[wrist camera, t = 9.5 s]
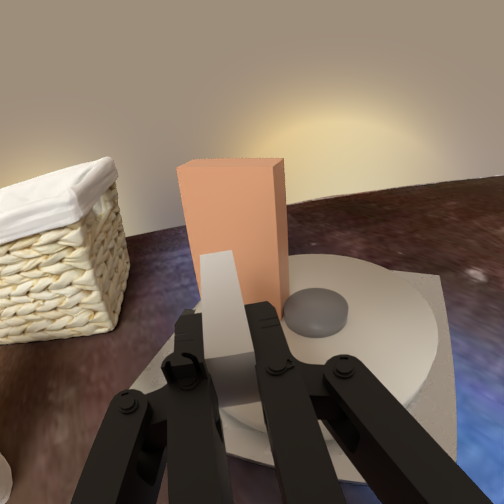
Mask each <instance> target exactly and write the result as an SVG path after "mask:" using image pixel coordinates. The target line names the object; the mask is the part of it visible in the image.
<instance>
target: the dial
mask: <svg viewBox="0 0 504 504" xmlns="http://www.w3.org/2000/svg"><path fill="white" fill-rule="evenodd" d="M176 169H177V175H178V181H179V187H180V193H181V199H182V204H183V210H184V216H185V221H186V227H187V232H188V237H189V243H190V248H191V253H192V258H193V263H194V268H195V273H196V278H197V283H198V287H199V292H200V297H201V276H200V255H203V254H209V253H216V252H222V251H228V250H232V253H233V257H234V262H235V267H236V271H237V276H238V281H239V285H240V290H241V294H242V299H243V303H244V305H246V304H252V303H258V302H263V301H268V302H269V303H270V304H272V305H273V306H274V307H275V309H276V311H277V314H278V318H279V320H280V323H281V326H282V329H283V332H284V335H285V337H286V340H287V343H288V346H289V349H290V352H291V353H292V355H293V356H294V357H295V358H296V359H297V360H299V361H301V362H304V363H307V364H321V365H325V363H326V361H327V360H328V359H330V358H331V357H333V356H336V355H340V354H348V355H351V356H355V357H356V358H358V359H359V360H360V361H361V362H362V363H363V364H364V365H365V366H366V367H367V368H368V369H369V370H370V371H371V372H372V373H373V374H374V375H375V376H376V378H377V379H378V380H379V381H380V382H381V383H382V384H383V385H384V386H385V387H386V388H387V389H388V390H389V391H390V393H391V394H392V395H393V396H394V397H395V398H396V399H397V400H398V401H399V402H400V403H401V404H402V405H403V406H404V408H406V407H407V405H408V404H409V403H410V402H411V401H412V400H413V399H414V398H415V397H416V395H417V394H418V392H419V391H420V389H421V388H422V386H423V384H424V382H425V380H426V378H427V375H428V373H429V371H430V368H431V366H432V363H433V361H434V358H435V356H436V352H437V346H438V328H437V323H436V319H435V317H434V314H433V311H432V309H431V308H430V306H429V304H428V302H427V301H426V300H425V298H424V297H423V296H422V295H421V293H420V292H419V291H418V290H417V289H416V288H415V287H414V286H413V285H411V284H410V283H409V282H407V281H406V280H405V279H404V278H402V277H400V276H399V275H397V274H395V273H394V272H392V271H390V270H388V269H386V268H384V267H381V266H379V265H376V264H373V263H371V262H367V261H364V260H360V259H356V258H351V257H346V256H339V255H328V254H302V255H292V256H288V233H287V211H286V191H285V174H284V158H220V159H219V158H217V159H193V160H191V161H189V162H187V163H185V164H183V165H181V166H179V167H177V168H176ZM195 313H202V302H200V304H199V305H198V307H197V309H196V311H195ZM195 313H194V314H195ZM222 409H223V410H224V411H226V412H227V413H228V414H230V415H231V416H233V417H234V418H236V419H237V420H239V421H240V422H242V423H244V424H246V425H248V426H250V427H252V428H254V429H256V430H259V431H262V432H265V433H267V430H266V425H265V424H264V417H263V410H262V404H261V402H255V403H249V404H243V405H237V406H231V407H224V408H222ZM318 422H319V425H320V428H321V431H322V434H323V437H324V440H331V439H334V438H333V437H332V435H331V434H330V433H329V431H328V430H327V428H326V427H325V426H324V424H323V423H322V421H321V420H318Z"/></svg>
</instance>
